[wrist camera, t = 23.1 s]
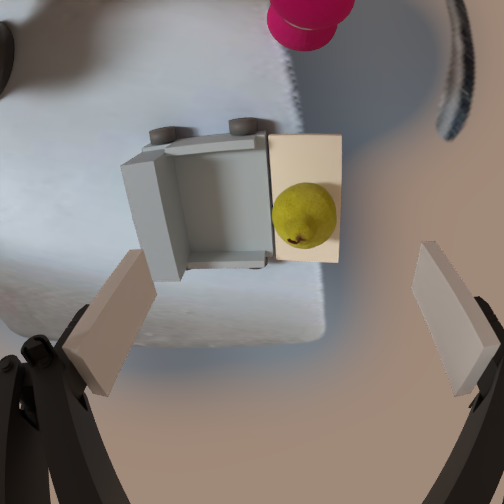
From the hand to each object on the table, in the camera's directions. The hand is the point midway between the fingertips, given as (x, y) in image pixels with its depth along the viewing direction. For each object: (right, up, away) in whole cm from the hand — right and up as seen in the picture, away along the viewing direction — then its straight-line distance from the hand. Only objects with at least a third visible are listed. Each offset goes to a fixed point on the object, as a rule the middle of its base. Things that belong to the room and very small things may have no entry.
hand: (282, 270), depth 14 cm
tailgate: (+1, +7, +23) cm, 24 cm away
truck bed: (-6, +8, +27) cm, 29 cm away
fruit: (+5, +7, +22) cm, 24 cm away
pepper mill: (+4, +27, +15) cm, 31 cm away
